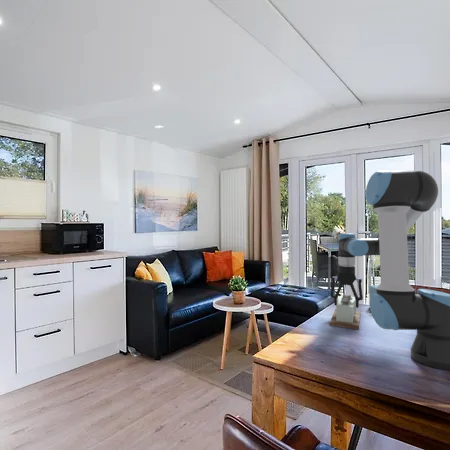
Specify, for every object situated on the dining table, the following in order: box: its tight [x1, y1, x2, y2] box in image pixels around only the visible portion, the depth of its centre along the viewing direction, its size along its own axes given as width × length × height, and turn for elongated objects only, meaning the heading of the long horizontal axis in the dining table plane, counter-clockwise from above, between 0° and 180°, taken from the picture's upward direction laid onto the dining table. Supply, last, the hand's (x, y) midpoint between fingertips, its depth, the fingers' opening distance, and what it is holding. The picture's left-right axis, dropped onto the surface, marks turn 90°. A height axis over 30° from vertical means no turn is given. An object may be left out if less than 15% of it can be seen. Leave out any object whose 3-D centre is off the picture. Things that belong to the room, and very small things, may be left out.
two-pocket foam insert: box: [335, 295, 356, 323], centre depth 154 cm, size 21×7×7 cm, turn 155°
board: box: [329, 293, 362, 330], centre depth 153 cm, size 25×12×11 cm, turn 155°
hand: (346, 313), depth 155 cm, fingers closed on two-pocket foam insert, 7 cm apart
